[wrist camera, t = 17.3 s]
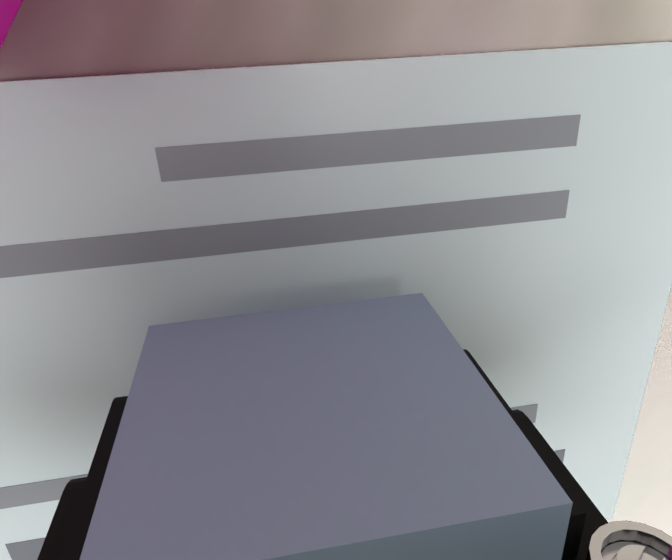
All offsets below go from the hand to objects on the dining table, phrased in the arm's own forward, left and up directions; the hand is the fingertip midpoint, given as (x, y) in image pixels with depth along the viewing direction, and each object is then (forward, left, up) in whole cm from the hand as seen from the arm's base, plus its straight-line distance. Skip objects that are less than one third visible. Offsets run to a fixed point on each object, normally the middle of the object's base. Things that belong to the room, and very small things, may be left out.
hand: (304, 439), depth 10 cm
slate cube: (0, 0, -1) cm, 1 cm away
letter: (0, 0, -2) cm, 2 cm away
